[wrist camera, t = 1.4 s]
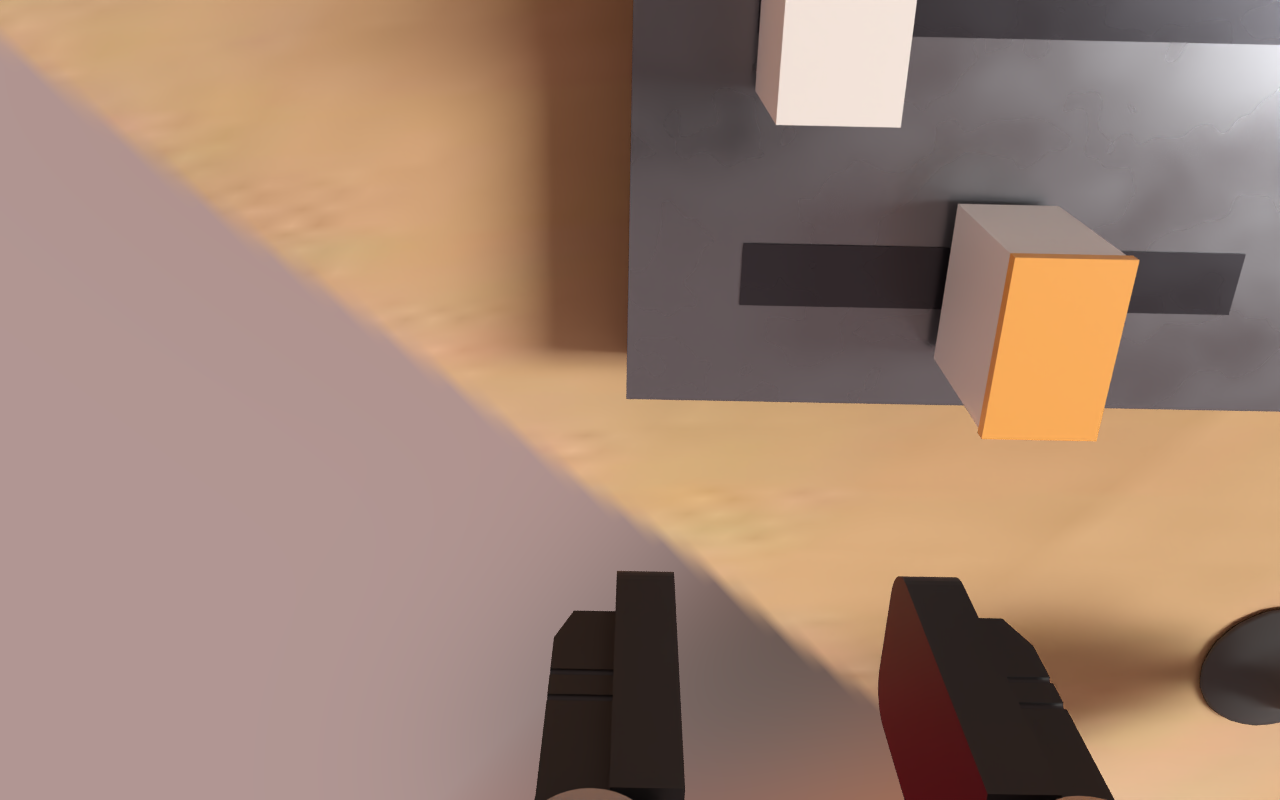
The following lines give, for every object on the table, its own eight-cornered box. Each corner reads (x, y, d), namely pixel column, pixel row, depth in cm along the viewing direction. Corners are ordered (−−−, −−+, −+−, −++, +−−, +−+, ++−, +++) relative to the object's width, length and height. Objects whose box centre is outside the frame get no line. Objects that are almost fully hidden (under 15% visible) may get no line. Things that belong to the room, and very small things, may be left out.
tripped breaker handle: (1061, 203, 25) (1139, 260, 21) (1029, 362, 26) (1096, 440, 23) (955, 201, 25) (1015, 257, 21) (931, 359, 26) (981, 439, 23)
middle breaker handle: (882, -103, 22) (929, -104, 18) (860, 93, 24) (900, 127, 20) (768, -106, 22) (793, -107, 18) (755, 90, 24) (776, 125, 20)
